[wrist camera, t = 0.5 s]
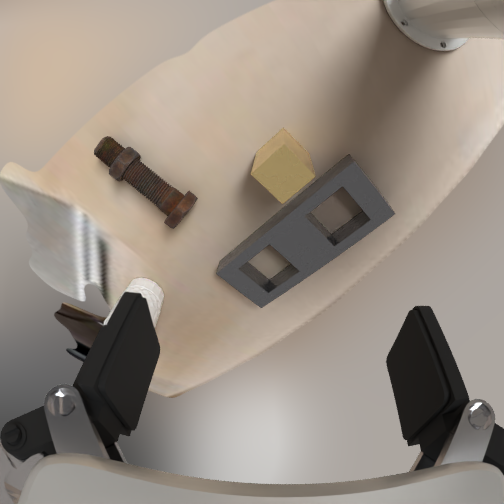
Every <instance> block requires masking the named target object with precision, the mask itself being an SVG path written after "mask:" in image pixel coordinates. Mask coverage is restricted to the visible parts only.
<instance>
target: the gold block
mask: <svg viewBox="0 0 504 504" xmlns="http://www.w3.org/2000/svg"><path fill="white" fill-rule="evenodd" d="M251 175H252V176H253V177H254V178H255V179H256V180H257V181H258V182H259V183H260V184H262V185H263V186H264V187H265V188H266V189H267V190H268V191H269V192H270V193H271V194H272V195H273V196H274V197H275V198H276V199H277V200H278V201H279V202H281V203H282V204H283V203H285V202H286V201H287V200H288V199H289V198H291V197H292V196H293V195H294V194H295V193H297V192H298V191H299V190H300V189H301V188H303V187H304V186H305V185H306V184H307V183H309V182H310V181H311V180H312V179H313V178H315V177H316V176H315V172H314V169H313V165H312V162H311V158H310V155H309V153H308V152H307V151H306V150H305V149H304V148H303V147H302V146H301V145H300V144H299V143H298V142H297V141H296V140H295V139H294V138H293V137H292V136H291V135H290V134H289V133H288V132H287V131H286V130H285V129H284V128H282V129H281V130H280V131H279V132H278V133H277V134H276V135H275V136H274V137H272V138H271V139H270V140H269V141H268V142H267V143H266V144H265V145H264V146H263V147H262V148H261V149H259V150H258V151H257V153H256V157H255V160H254V164H253V167H252V171H251Z"/></svg>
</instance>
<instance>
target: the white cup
mask: <svg viewBox="0 0 504 504" xmlns="http://www.w3.org/2000/svg"><path fill="white" fill-rule="evenodd" d="M124 292H134V293H141V294H142V297H143V298H146V300H147V303H148V307H149V310H150V314H151V318H152V321H153V325H154V328H155V327H156V324H157V320H158V317H159V314H160V311H161V307H162V304H163V301H164V293H163V291H162V289H161V287H160V286H159V285H158V284H157V283H155V282H154V281H152V280H150V279H148V278H141V277H139V278H136V279H133V280H132V281H131V282H130V284H129V285H128V287H127V288H126V290H124ZM124 292H123V293H124ZM123 293H122V295H123ZM122 295H121V296H120V298H121V297H122ZM120 298H119V299H118V301H117V302H116V303H115V305H114V307H113V308H112V310H111V312H110V313H109V315H108V316H107V318H106V320H105V321H104V325H106V324H107V322H108V321H109V319H110V317H111V315H112V313H113V311H114V309H115V308H116V306H117V304H118V302H119V300H120Z"/></svg>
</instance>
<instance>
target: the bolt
mask: <svg viewBox="0 0 504 504" xmlns="http://www.w3.org/2000/svg"><path fill="white" fill-rule="evenodd" d="M94 155H96V157H98V158H99V159H100V160H101V161H103V162H104V163H105V164H106V165H107V166H108V167H110V169H109V174H110V175H111V176H112V177H113V178H115V179H116V180H118V181H122V180H123V179H125V181H127V182H129V184H131V185H133V187H135V189H136V188H137V189H136V190H138V191H139V192H140V193H142V194H144V196H146V198H148V199H150V201H152V203H154V204H156V206H157V207H158V208H159V209H160V210H161V211H162V212H164V213H165V214H166V215H167V216H168V217H167V218H166V220H165V221H164V223H165V224H167V225H168V226H169V227H170V228H172V229H174V228H175V227H176V226H177V225H178V223H179V222H180V221H181V220H182V219H183V217H184V216H185V215H186V214H187V212H188V211H189V210H190V209H191V207H192V206H193V205H194V203H195V202H196V200H197V199H198V198H197V197H196V196H195V195H194V194H192V193H191V192H190V191H188V192H187V193H186V195H185V196H184V195H183V194H182V193H181V192H179V191H178V190H177V189H176V188H173V187H171V185H170V186H169V184H167V182H166V183H165V181H163V179H161V178H159V176H157V174H156V175H155V173H153V172H154V171H152V170H150V168H148V167H146V165H144V163H143V164H142V162H140V160H139V159H140V154H139V153H137V152H136V151H135V150H134V149H132V148H131V147H127V148H126V149H125V148H124V147H122V145H120V144H118V142H117V143H116V141H115V140H114V139H113V138H111V137H108V136H107V137H105V138H103V139H102V140H101V141H100V143H99V144H98V145H97V147H96V148H95V150H94ZM151 171H152V172H151Z"/></svg>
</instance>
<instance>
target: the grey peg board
mask: <svg viewBox="0 0 504 504" xmlns="http://www.w3.org/2000/svg"><path fill="white" fill-rule="evenodd" d="M342 186H343V187H344V188H345V190H346V191H347V192H348V193H349V194H350V195H351V197H352V198H353V199H354V200H355V201H356V202H357V204H358V205H359V206H360V207H361V208H362V210H363V211H362V212H361V213H360V214H358V215H357V216H356V217H354V218H353V219H352V220H350V221H349V222H348V223H346V224H345V225H344V226H342V227H341V228H340V229H338V230H337V231H336V232H334V233H333V234H332V235H331V234H330V233H329V232H328V230H327V229H326V228H325V227H324V226H323V225H322V224H321V223H320V222H319V221H318V220H317V219H316V218H315V217H314V216H313V215H312V214H311V213H310V212H311V211H312V210H313V209H314V208H316V207H317V206H318V205H320V204H321V203H322V202H323V201H325V200H326V199H327V198H328V197H330V196H331V195H332V194H333V193H335V192H336V191H337V190H338V189H340V188H341V187H342ZM394 214H395V213H394V211H393V210H392V208H391V207H390V205H389V204H388V202H387V201H386V200H385V198H384V197H383V196H382V194H381V193H380V192H379V190H378V189H377V188H376V187H375V185H374V184H373V183H372V181H371V180H370V179H369V178H368V176H367V175H366V174H365V173H364V171H363V170H362V169H361V168H360V166H359V165H358V164H357V163H356V162H355V160H354V159H353V158H352V157H351V156H350V154H348V155H347V156H346V157H345V158H343V159H342V160H341V161H340V162H339V163H337V164H336V165H335V166H334V167H332V168H331V169H330V170H329V171H328V172H326V173H325V174H324V175H323V176H321V177H320V178H319V179H318V180H317V181H315V182H314V183H313V184H312V185H311V186H309V187H308V188H307V189H306V190H304V191H303V192H302V193H301V194H300V195H298V196H297V197H296V198H295V199H294V200H292V201H291V202H290V203H289V204H288V205H286V206H285V207H284V208H283V209H282V210H280V211H279V212H278V213H277V214H276V215H274V216H273V217H272V218H271V219H270V220H268V221H267V222H266V223H265V224H264V225H262V226H261V227H260V228H259V229H258V230H256V231H255V232H254V233H253V234H252V235H250V236H249V237H248V238H247V239H246V240H244V241H243V242H242V243H241V244H240V245H239V246H237V247H236V248H235V249H234V250H233V251H231V252H230V253H229V254H228V255H227V256H225V257H224V258H223V259H222V260H221V261H220V263H219V266H218V269H217V273H216V274H217V275H218V276H220V277H221V278H222V279H224V280H225V281H226V282H227V283H229V284H230V285H231V286H233V287H234V288H235V289H237V290H238V291H239V292H240V293H242V294H243V295H244V296H246V297H247V298H248V299H250V300H251V301H252V302H254V303H255V304H256V305H258V306H259V307H260V308H262V307H264V306H265V305H267V304H268V303H270V302H271V301H273V300H274V299H276V298H277V297H279V296H280V295H282V294H283V293H285V292H286V291H288V290H289V289H291V288H292V287H294V286H295V285H297V284H298V283H300V282H301V281H302V280H304V279H305V278H307V277H308V276H310V275H311V274H313V273H314V272H316V271H317V270H318V269H320V268H321V267H323V266H324V265H326V264H327V263H329V262H330V261H331V260H333V259H334V258H336V257H337V256H338V255H340V254H341V253H343V252H344V251H345V250H347V249H348V248H350V247H351V246H352V245H354V244H355V243H357V242H358V241H359V240H361V239H362V238H363V237H365V236H366V235H368V234H369V233H370V232H372V231H373V230H374V229H376V228H377V227H378V226H380V225H381V224H382V223H384V222H385V221H386V220H388V219H389V218H390V217H392V216H393V215H394ZM269 244H270V245H271V246H272V247H273V248H274V249H275V250H277V251H278V252H279V253H280V254H281V255H282V256H283V257H284V258H286V259H287V260H288V261H289V262H290V263H291V265H289V266H288V267H287V268H285V269H284V270H283V271H281V272H280V273H278V274H277V275H276V276H274V277H273V278H271V279H270V280H269V279H268V278H266V277H265V276H264V275H263V274H262V273H260V272H259V271H258V270H257V269H255V268H254V267H253V266H252V265H251V264H249V263H248V261H249V260H250V259H251V258H253V257H254V256H255V255H256V254H258V253H259V252H260V251H261V250H263V249H264V248H265V247H267V246H268V245H269Z"/></svg>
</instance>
